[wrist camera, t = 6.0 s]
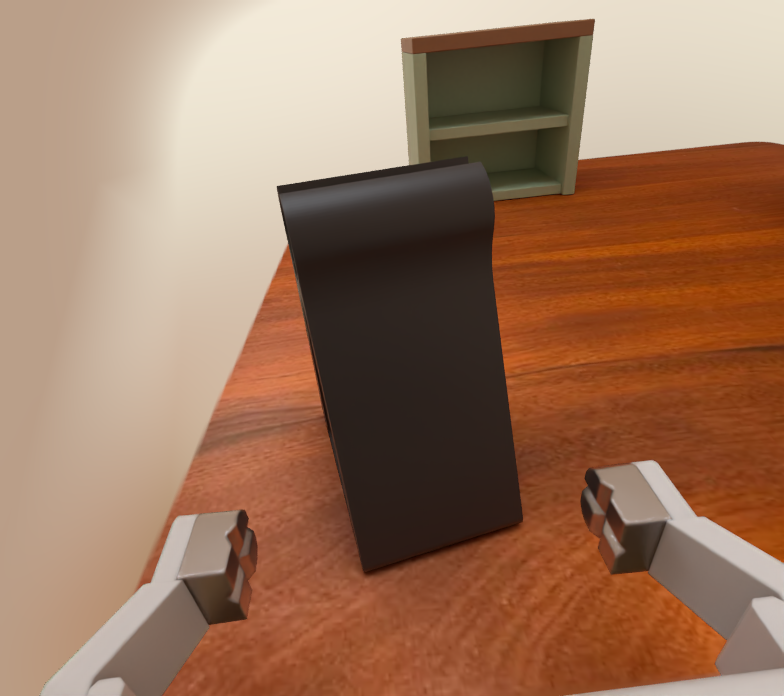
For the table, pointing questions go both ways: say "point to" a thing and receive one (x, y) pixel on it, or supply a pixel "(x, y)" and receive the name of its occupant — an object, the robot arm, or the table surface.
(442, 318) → the phone stand
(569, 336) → the table surface
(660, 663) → the table surface
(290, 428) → the table surface
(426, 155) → the shelf
